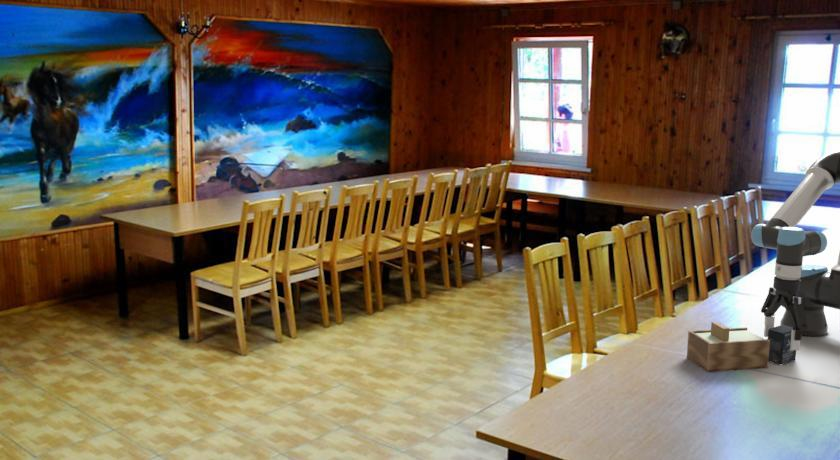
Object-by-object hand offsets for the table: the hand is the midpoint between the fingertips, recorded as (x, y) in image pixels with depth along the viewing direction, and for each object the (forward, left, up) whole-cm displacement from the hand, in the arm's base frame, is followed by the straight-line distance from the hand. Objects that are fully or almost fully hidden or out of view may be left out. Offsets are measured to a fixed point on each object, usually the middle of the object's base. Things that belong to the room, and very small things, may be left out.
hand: (781, 343), depth 255 cm
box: (0, 0, -6) cm, 6 cm away
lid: (+17, -1, +2) cm, 17 cm away
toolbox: (+18, -1, -6) cm, 19 cm away
